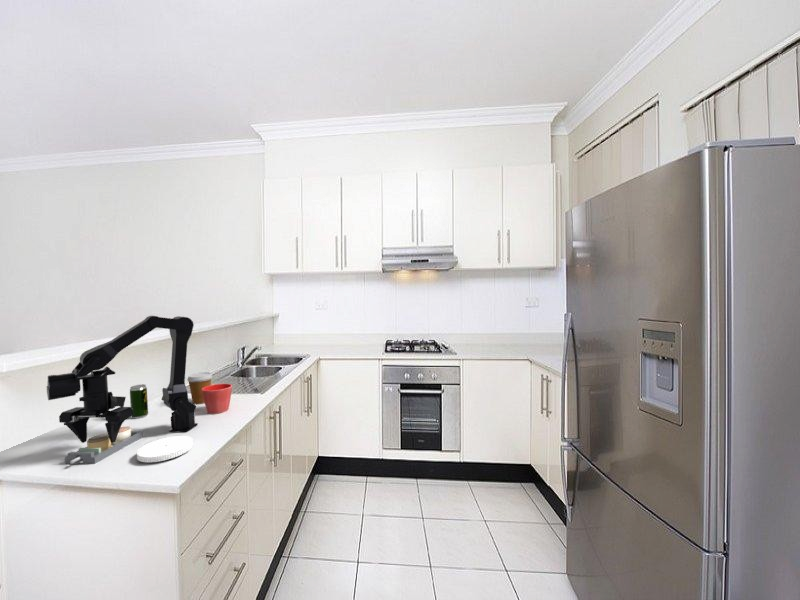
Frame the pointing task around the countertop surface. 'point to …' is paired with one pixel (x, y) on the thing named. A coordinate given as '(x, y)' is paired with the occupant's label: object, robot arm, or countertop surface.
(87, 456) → the lane
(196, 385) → the disposable coffee cup
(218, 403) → the flower pot
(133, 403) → the beer can
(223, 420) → the countertop surface
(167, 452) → the plastic lid
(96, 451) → the pusher
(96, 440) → the amber jar
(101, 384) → the robot arm
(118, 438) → the cream jar
